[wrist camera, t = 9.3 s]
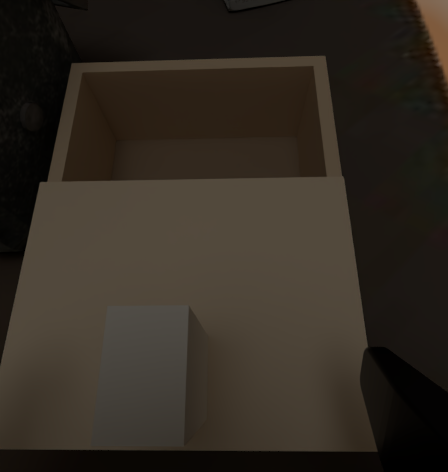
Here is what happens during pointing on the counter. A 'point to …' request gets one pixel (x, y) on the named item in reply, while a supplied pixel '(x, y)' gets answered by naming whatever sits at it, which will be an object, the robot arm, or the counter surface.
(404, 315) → the counter surface
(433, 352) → the counter surface
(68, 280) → the lid
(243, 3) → the skincare box
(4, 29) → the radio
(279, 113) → the carton
